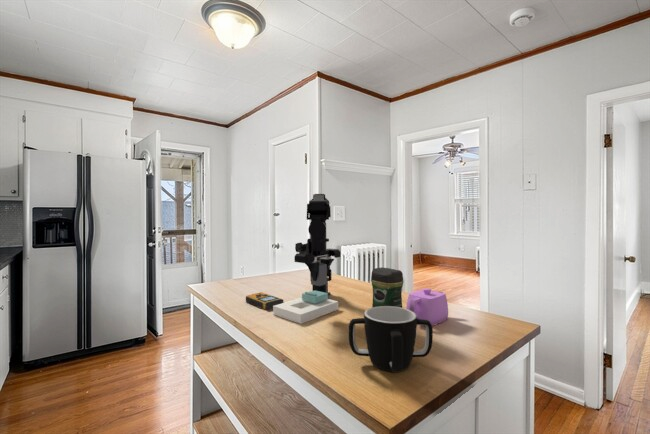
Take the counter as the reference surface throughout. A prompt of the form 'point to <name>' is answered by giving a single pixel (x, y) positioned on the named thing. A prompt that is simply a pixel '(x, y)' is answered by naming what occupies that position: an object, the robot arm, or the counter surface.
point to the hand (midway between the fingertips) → (318, 279)
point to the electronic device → (263, 300)
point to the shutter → (314, 297)
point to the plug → (320, 275)
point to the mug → (390, 337)
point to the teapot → (428, 305)
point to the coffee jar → (387, 287)
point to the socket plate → (304, 310)
